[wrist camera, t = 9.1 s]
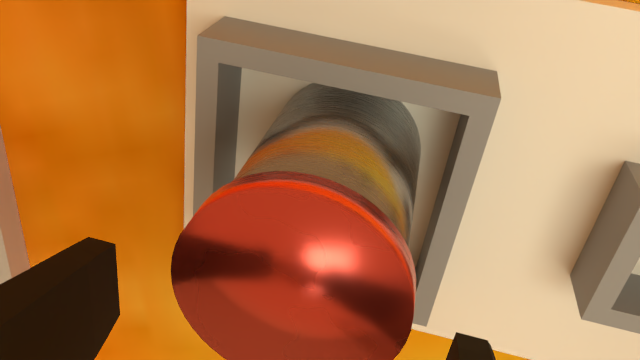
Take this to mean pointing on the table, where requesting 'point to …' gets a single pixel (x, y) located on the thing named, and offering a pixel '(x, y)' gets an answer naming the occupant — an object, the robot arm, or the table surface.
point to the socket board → (462, 147)
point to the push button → (309, 237)
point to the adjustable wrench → (10, 225)
